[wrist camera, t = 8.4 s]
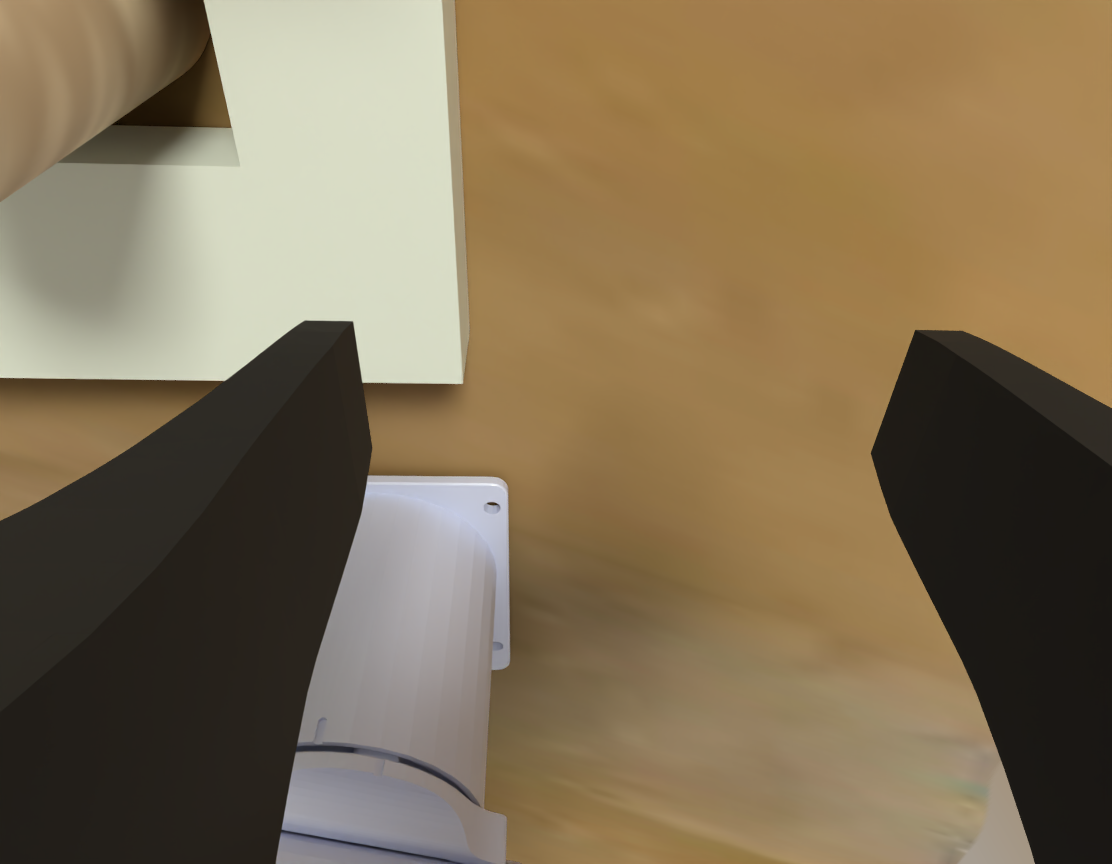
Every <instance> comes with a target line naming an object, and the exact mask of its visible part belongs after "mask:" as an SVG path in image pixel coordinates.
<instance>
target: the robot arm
mask: <svg viewBox="0 0 1112 864" xmlns="http://www.w3.org/2000/svg"><path fill="white" fill-rule="evenodd" d="M371 453H372V443H371V436H370V430H369V423H368V416H367V410H366V403H365V397H364V390H363V383H362V377H361V370H360V363H359V357H358V350H357V343H356V337H355V330H354V323H353V321H310V320H305V321H303V322H302V323H300V324H298V325H297V326H295V327H294V328H293V329H291V330H290V331H289V332H287V333H286V334H285V335H283V336H282V337H281V338H279V339H278V340H277V341H276V342H274V343H273V344H272V345H270V346H269V347H268V348H267V349H265V350H264V351H263V352H262V353H260V354H259V355H258V356H257V357H255V358H254V359H253V360H251V361H250V362H249V363H248V364H246V365H245V366H244V367H242V368H241V369H240V370H239V371H237V372H236V373H235V374H233V375H232V376H231V377H229V378H228V379H227V380H226V381H224V382H223V383H222V384H220V385H219V386H218V387H216V388H215V389H214V390H213V391H211V392H210V393H209V394H207V395H206V396H205V397H203V398H202V399H201V400H199V401H198V402H197V403H195V404H194V405H192V406H191V407H189V408H188V409H186V410H185V411H184V412H182V413H181V414H179V415H178V416H176V417H175V418H173V419H172V420H171V421H169V422H168V423H166V424H165V425H163V426H162V427H160V428H159V429H158V430H156V431H155V432H153V433H152V434H150V435H149V436H147V437H146V438H145V439H143V440H142V441H140V442H139V443H137V444H136V445H134V446H133V447H131V448H130V449H128V450H127V451H125V452H124V453H122V454H120V455H119V456H117V457H116V458H114V459H112V460H111V461H109V462H107V463H106V464H104V465H102V466H101V467H99V468H98V469H96V470H94V471H93V472H91V473H89V474H87V475H86V476H84V477H82V478H80V479H79V480H77V481H75V482H73V483H71V484H70V485H68V486H66V487H64V488H63V489H61V490H59V491H57V492H56V493H54V494H52V495H50V496H49V497H47V498H45V499H43V500H41V501H39V502H37V503H35V504H34V505H32V506H30V507H28V508H26V509H24V510H22V511H20V512H18V513H16V514H14V515H12V516H10V517H8V518H5V519H3V520H1V521H0V864H521V863H520V862H515V861H510V860H506V836H507V817H506V816H505V815H503V814H499V813H495V812H491V811H489V810H486V809H484V798H485V780H486V761H487V743H488V725H489V706H490V688H491V670H501V669H504V668H506V667H507V666H508V665H509V663H510V595H509V511H508V486H507V484H506V483H505V482H504V481H503V480H502V479H500V478H497V477H466V476H368V472H369V466H370V459H371ZM871 455H872V459H873V462H874V466H875V469H876V472H877V476H878V479H879V483H880V486H881V489H882V492H883V495H884V498H885V501H886V504H887V507H888V510H889V513H890V516H891V518H892V521H893V523H894V525H895V527H896V529H897V531H898V533H899V535H900V537H901V539H902V542H903V544H904V546H905V548H906V550H907V552H908V554H909V556H910V558H911V560H912V562H913V564H914V566H915V568H916V570H917V572H918V574H919V576H920V578H921V580H922V582H923V584H924V586H925V588H926V590H927V592H928V594H929V596H930V598H931V600H932V602H933V604H934V606H935V608H936V610H937V612H938V614H939V616H940V618H941V620H942V622H943V624H944V626H945V628H946V630H947V632H948V634H949V636H950V638H951V640H952V642H953V644H954V646H955V648H956V650H957V652H958V654H959V656H960V658H961V660H962V662H963V664H964V666H965V669H966V671H967V673H968V675H969V678H970V680H971V682H972V684H973V687H974V689H975V691H976V693H977V696H978V699H979V701H980V704H981V707H982V709H983V712H984V715H985V718H986V720H987V723H988V726H989V728H990V731H991V734H992V737H993V739H994V742H995V745H996V747H997V750H998V753H999V756H1000V758H1001V761H1002V764H1003V766H1004V769H1005V772H1006V775H1007V778H1008V781H1009V784H1010V787H1011V790H1012V793H1013V796H1014V799H1015V802H1016V806H1017V809H1018V811H1019V815H1020V818H1021V820H1022V824H1023V827H1024V830H1025V833H1026V835H1027V838H1028V841H1029V845H1030V848H1031V851H1032V855H1033V858H1034V862H1035V864H1112V408H1110V407H1108V406H1106V405H1105V404H1103V403H1101V402H1099V401H1097V400H1095V399H1094V398H1092V397H1090V396H1088V395H1086V394H1084V393H1083V392H1081V391H1079V390H1077V389H1075V388H1074V387H1072V386H1070V385H1068V384H1066V383H1065V382H1063V381H1061V380H1059V379H1057V378H1055V377H1054V376H1052V375H1050V374H1048V373H1046V372H1045V371H1043V370H1041V369H1039V368H1037V367H1035V366H1034V365H1032V364H1030V363H1028V362H1026V361H1024V360H1023V359H1021V358H1019V357H1017V356H1015V355H1013V354H1011V353H1009V352H1007V351H1005V350H1003V349H1002V348H1000V347H998V346H996V345H993V344H991V343H989V342H987V341H985V340H983V339H981V338H978V337H976V336H974V335H971V334H969V333H966V332H964V331H938V330H915V332H914V335H913V338H912V341H911V343H910V346H909V349H908V352H907V355H906V357H905V360H904V363H903V366H902V368H901V371H900V374H899V377H898V379H897V382H896V385H895V388H894V390H893V393H892V396H891V399H890V402H889V404H888V407H887V410H886V413H885V415H884V418H883V421H882V424H881V426H880V429H879V432H878V435H877V438H876V440H875V443H874V446H873V449H872V451H871ZM488 502H495V503H497V504H498V505H494V506H492V505H488V504H487V503H488Z"/></svg>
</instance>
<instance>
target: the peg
mask: <svg viewBox="0 0 1112 864" xmlns="http://www.w3.org/2000/svg"><path fill="white" fill-rule="evenodd" d="M209 35H210V27H209V22H208V18H207V13H206V8H205V4H204V0H0V202H2V201H3V200H4V199H6V198H7V197H9V196H10V195H12V194H13V193H14V192H16V191H17V190H19V189H20V188H22V187H23V186H24V185H26V184H27V183H29V182H30V181H32V180H33V179H34V178H36V177H37V176H39V175H40V174H42V173H43V172H44V171H46V170H47V169H49V168H50V167H52V166H53V165H54V164H56V163H57V162H59V161H60V160H62V159H63V158H64V157H66V156H67V155H69V154H70V153H72V152H73V151H74V150H76V149H77V148H79V147H80V146H82V145H83V144H84V143H86V142H87V141H89V140H90V139H92V138H93V137H94V136H96V135H97V134H99V133H100V132H102V131H103V130H104V129H106V128H107V127H109V126H110V125H112V124H113V123H114V122H116V121H117V120H119V119H120V118H122V117H123V116H124V115H126V114H127V113H129V112H130V111H132V110H133V109H134V108H136V107H137V106H139V105H140V104H142V103H143V102H144V101H146V100H147V99H149V98H150V97H152V96H153V95H154V94H156V93H157V92H159V91H160V90H162V89H163V88H164V87H166V86H167V85H169V84H170V83H172V82H173V81H174V80H176V79H177V78H179V77H180V76H182V75H183V74H184V73H185V72H187V71H188V70H189V69H190V68H191V67H192V66H193V65H194V64H195V63H196V62H197V60H198V59H199V58H200V56H201V54H202V53H203V51H204V49H205V47H206V44H207V42H208V39H209Z"/></svg>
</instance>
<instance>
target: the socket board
mask: <svg viewBox="0 0 1112 864" xmlns="http://www.w3.org/2000/svg"><path fill="white" fill-rule="evenodd" d="M204 4H205V8H206V13H207V18H208V22H209V27H210V31H211V36H212V40H213V45H214V49H215V54H216V58H217V63H218V67H219V72H220V76H221V81H222V85H223V90H224V94H225V99H226V103H227V108H228V112H229V117H230V121H231V126H232V128H210V127H168V126H126V125H110V126H109V127H107V128H106V129H104V130H103V131H102V132H100V133H99V134H97V135H96V136H94V137H93V138H92V139H90V140H89V141H87V142H86V143H84V144H83V145H82V146H80V147H79V148H77V149H76V150H74V151H73V152H72V153H70V154H69V155H67V156H66V157H64V158H63V159H62V160H60V161H59V162H57V163H56V164H54V165H53V166H52V167H50V168H49V169H47V170H46V171H44V172H43V173H42V174H40V175H39V176H37V177H36V178H34V179H33V180H32V181H30V182H29V183H27V184H26V185H24V186H23V187H22V188H20V189H19V190H17V191H16V192H14V193H13V194H12V195H10V196H9V197H7V198H6V199H4V200H3V201H2V202H0V378H54V379H129V380H204V381H226V380H227V379H228V378H229V377H231V376H232V375H233V374H235V373H236V372H237V371H239V370H240V369H241V368H242V367H244V366H245V365H246V364H248V363H249V362H250V361H251V360H253V359H254V358H255V357H257V356H258V355H259V354H260V353H262V352H263V351H264V350H265V349H267V348H268V347H269V346H270V345H272V344H273V343H274V342H276V341H277V340H278V339H279V338H281V337H282V336H283V335H285V334H286V333H287V332H289V331H290V330H291V329H293V328H294V327H295V326H297V325H298V324H300V323H302V322H303V321H305V320H310V321H353V323H354V330H355V337H356V343H357V350H358V357H359V363H360V370H361V377H362V383H430V384H463V379H464V371H465V364H466V356H467V349H468V342H469V334H470V325H469V303H468V281H467V259H466V237H465V215H464V193H463V171H462V149H461V127H460V105H459V83H458V61H457V39H456V16H455V0H204Z"/></svg>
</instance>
